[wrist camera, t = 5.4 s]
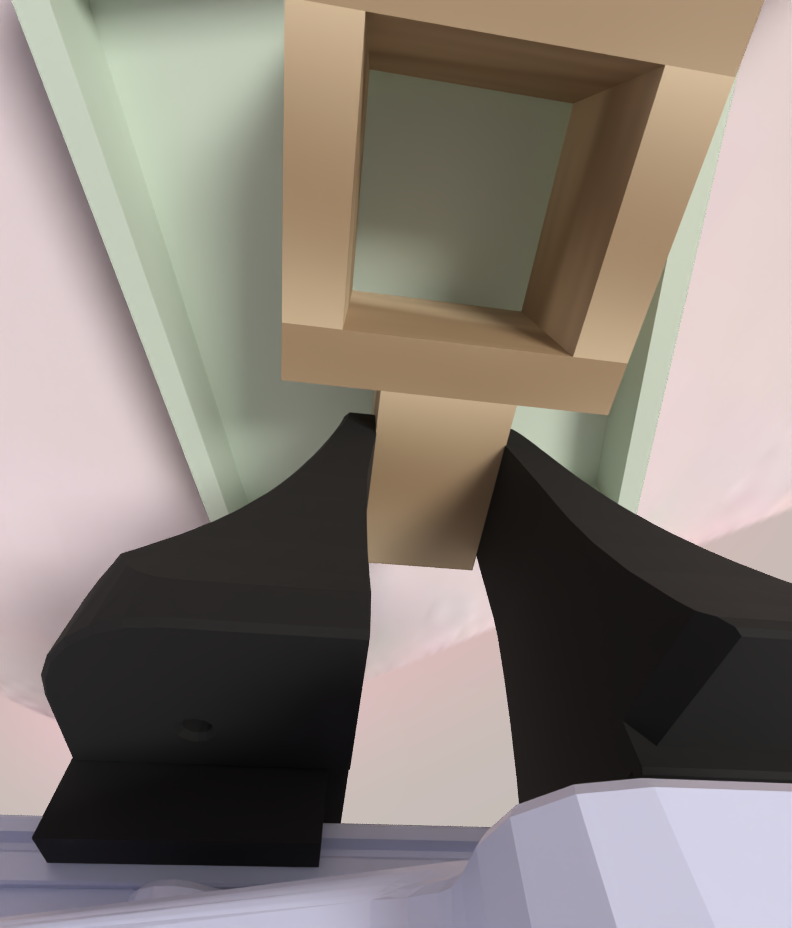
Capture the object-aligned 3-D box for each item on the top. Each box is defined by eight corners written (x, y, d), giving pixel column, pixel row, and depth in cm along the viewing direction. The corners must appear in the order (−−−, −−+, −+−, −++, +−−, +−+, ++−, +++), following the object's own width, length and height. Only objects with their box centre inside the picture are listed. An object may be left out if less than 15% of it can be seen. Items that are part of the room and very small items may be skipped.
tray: (241, 521, 16) (225, 563, 15) (39, -82, 9) (-42, -138, 7) (606, 488, 16) (632, 528, 14) (723, -162, 8) (810, -242, 7)
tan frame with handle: (510, 490, 14) (547, 576, 11) (301, 472, 13) (280, 555, 10) (641, 46, 9) (772, -24, 6) (318, -12, 8) (285, -122, 5)
